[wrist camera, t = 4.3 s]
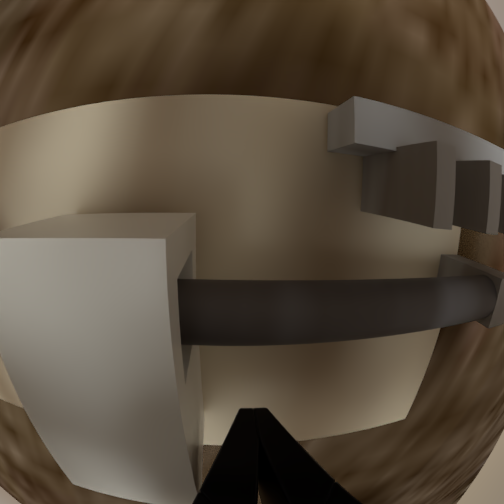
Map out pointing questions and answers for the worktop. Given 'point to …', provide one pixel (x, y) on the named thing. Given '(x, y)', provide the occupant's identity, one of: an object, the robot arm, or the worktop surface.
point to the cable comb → (285, 239)
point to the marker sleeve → (106, 349)
